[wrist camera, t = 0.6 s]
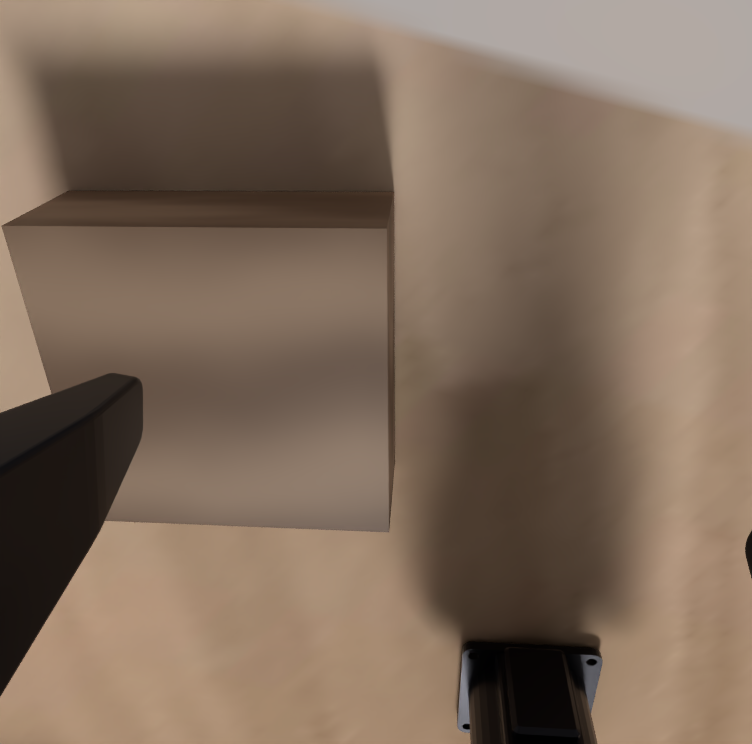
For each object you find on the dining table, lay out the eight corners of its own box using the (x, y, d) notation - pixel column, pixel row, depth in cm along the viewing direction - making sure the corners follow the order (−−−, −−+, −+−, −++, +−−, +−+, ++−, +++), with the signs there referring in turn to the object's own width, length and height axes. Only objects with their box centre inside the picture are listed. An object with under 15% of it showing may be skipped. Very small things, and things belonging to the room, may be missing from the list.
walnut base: (394, 463, 27) (389, 532, 23) (132, 454, 28) (89, 519, 24) (394, 191, 22) (386, 228, 18) (68, 190, 22) (1, 226, 19)
